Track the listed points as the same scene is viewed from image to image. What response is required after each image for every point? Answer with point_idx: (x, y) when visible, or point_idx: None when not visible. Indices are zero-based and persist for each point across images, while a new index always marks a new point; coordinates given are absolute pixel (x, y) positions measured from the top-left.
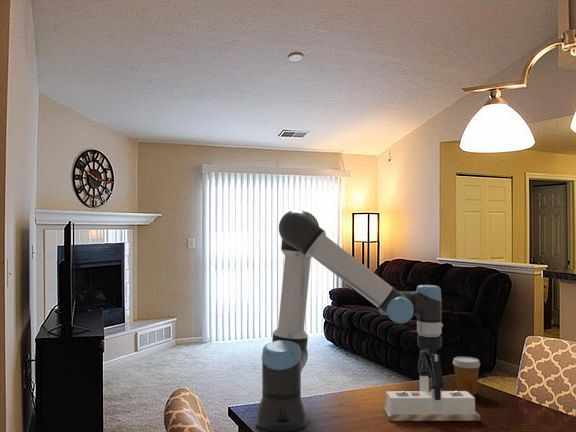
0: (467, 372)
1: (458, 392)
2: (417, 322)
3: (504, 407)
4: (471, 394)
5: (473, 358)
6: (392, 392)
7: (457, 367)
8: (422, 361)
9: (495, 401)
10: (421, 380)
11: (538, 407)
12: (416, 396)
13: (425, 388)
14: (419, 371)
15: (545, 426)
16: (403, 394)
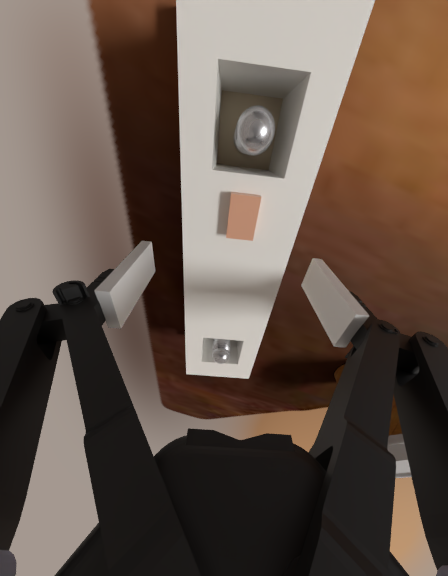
0: None
1: (215, 361)
2: None
3: (254, 385)
4: (335, 374)
5: (406, 475)
6: (327, 43)
7: (400, 430)
8: (341, 440)
9: (287, 386)
10: (340, 303)
11: (243, 411)
12: (209, 210)
13: (316, 294)
14: (395, 336)
15: (163, 391)
16: (236, 126)
